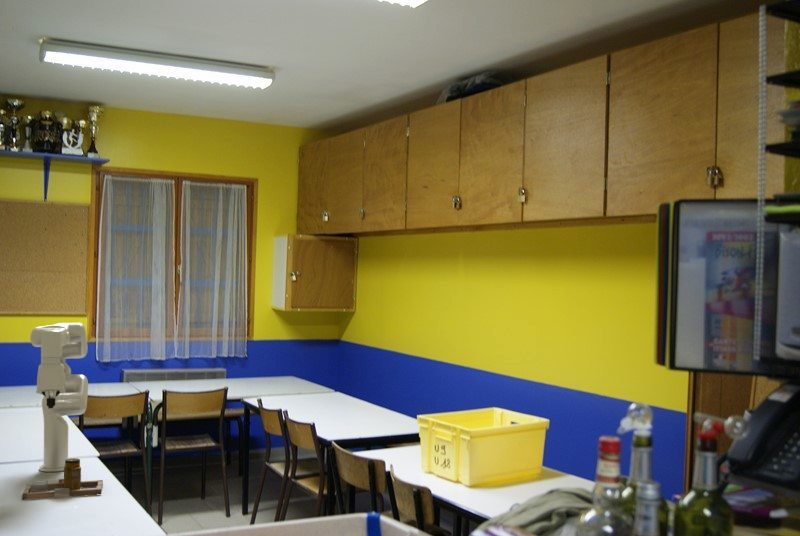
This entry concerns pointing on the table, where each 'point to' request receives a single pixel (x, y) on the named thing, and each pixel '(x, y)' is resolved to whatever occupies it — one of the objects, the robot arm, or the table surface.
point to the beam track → (59, 490)
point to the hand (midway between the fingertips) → (50, 407)
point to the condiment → (72, 474)
